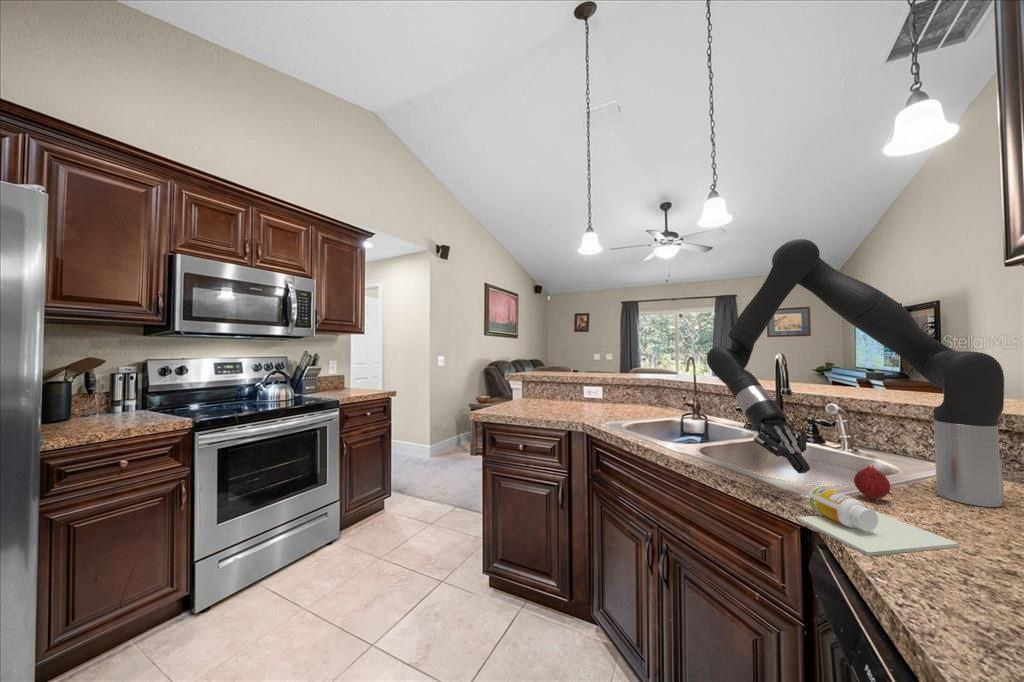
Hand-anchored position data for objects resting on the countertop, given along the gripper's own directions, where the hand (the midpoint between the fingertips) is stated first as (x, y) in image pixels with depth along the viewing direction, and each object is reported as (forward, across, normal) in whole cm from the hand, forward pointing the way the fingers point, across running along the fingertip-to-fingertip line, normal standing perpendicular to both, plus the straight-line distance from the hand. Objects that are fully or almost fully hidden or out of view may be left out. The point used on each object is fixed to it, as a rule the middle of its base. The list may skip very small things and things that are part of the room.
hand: (804, 471), depth 82 cm
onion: (+6, +16, +4) cm, 18 cm away
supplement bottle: (+6, -2, -1) cm, 7 cm away
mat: (+14, 0, -4) cm, 15 cm away
